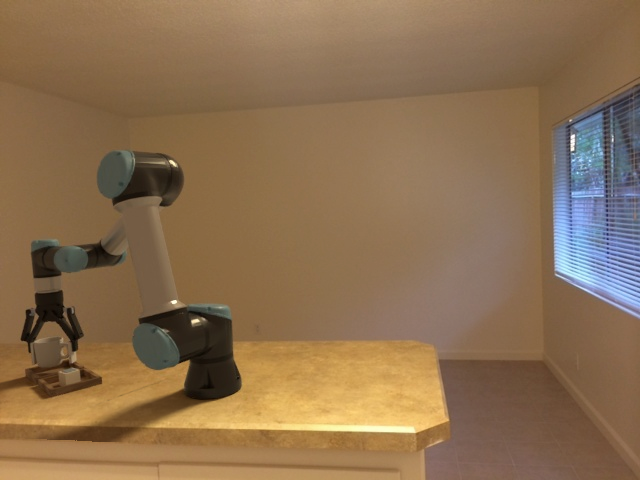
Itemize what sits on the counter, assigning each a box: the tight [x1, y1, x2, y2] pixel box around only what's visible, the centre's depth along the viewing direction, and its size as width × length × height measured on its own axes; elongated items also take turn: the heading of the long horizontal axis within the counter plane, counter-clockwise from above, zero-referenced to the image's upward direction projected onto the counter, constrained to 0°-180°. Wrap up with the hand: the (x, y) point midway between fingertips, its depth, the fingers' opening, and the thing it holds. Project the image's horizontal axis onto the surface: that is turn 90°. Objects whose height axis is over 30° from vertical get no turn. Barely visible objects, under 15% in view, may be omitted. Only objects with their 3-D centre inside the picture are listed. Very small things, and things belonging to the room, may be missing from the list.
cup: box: [33, 336, 69, 368], centre depth 150 cm, size 11×8×8 cm
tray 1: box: [24, 358, 86, 386], centre depth 150 cm, size 13×13×2 cm
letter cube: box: [58, 368, 81, 386], centre depth 140 cm, size 4×4×4 cm
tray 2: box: [37, 367, 103, 398], centre depth 140 cm, size 13×13×2 cm
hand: (54, 362), depth 150 cm, fingers closed on cup, 11 cm apart
